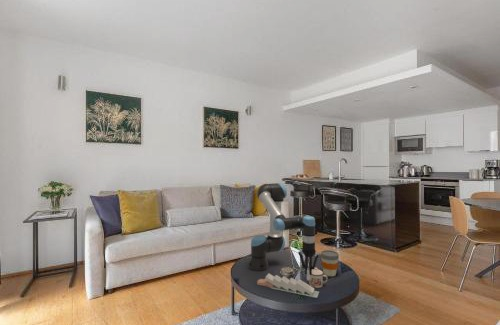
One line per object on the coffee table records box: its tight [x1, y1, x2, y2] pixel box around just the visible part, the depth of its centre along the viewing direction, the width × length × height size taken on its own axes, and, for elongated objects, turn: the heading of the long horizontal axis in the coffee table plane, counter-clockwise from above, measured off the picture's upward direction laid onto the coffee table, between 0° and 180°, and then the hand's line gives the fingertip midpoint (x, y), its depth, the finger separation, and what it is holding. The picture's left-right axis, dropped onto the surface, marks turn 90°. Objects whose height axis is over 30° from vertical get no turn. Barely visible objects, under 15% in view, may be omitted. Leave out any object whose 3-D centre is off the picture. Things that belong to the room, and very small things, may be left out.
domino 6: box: [296, 278, 315, 295], centre depth 165 cm, size 2×6×11 cm
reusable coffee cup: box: [320, 249, 340, 277], centre depth 193 cm, size 13×13×15 cm
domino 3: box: [273, 274, 289, 292], centre depth 171 cm, size 2×6×11 cm
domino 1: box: [256, 278, 274, 288], centre depth 175 cm, size 2×6×11 cm
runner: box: [269, 285, 320, 299], centre depth 168 cm, size 30×8×1 cm, turn 67°
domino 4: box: [280, 275, 297, 292], centre depth 169 cm, size 2×6×11 cm
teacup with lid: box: [308, 267, 328, 289], centre depth 175 cm, size 12×9×12 cm
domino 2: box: [264, 272, 281, 289], centre depth 173 cm, size 2×6×11 cm
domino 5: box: [288, 277, 305, 294], centre depth 167 cm, size 2×6×11 cm
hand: (308, 279), depth 164 cm, fingers closed
